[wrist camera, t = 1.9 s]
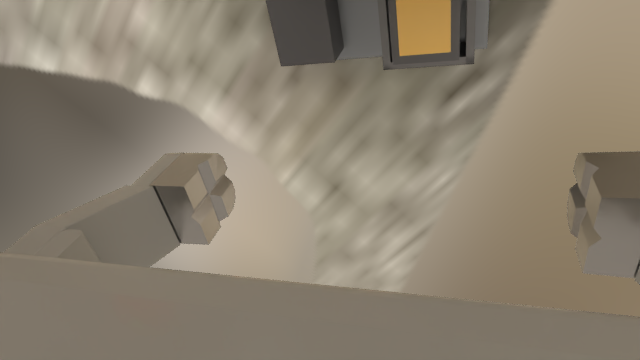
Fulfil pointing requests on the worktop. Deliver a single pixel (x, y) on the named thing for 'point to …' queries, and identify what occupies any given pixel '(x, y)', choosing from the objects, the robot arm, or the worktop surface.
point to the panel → (358, 31)
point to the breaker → (424, 30)
